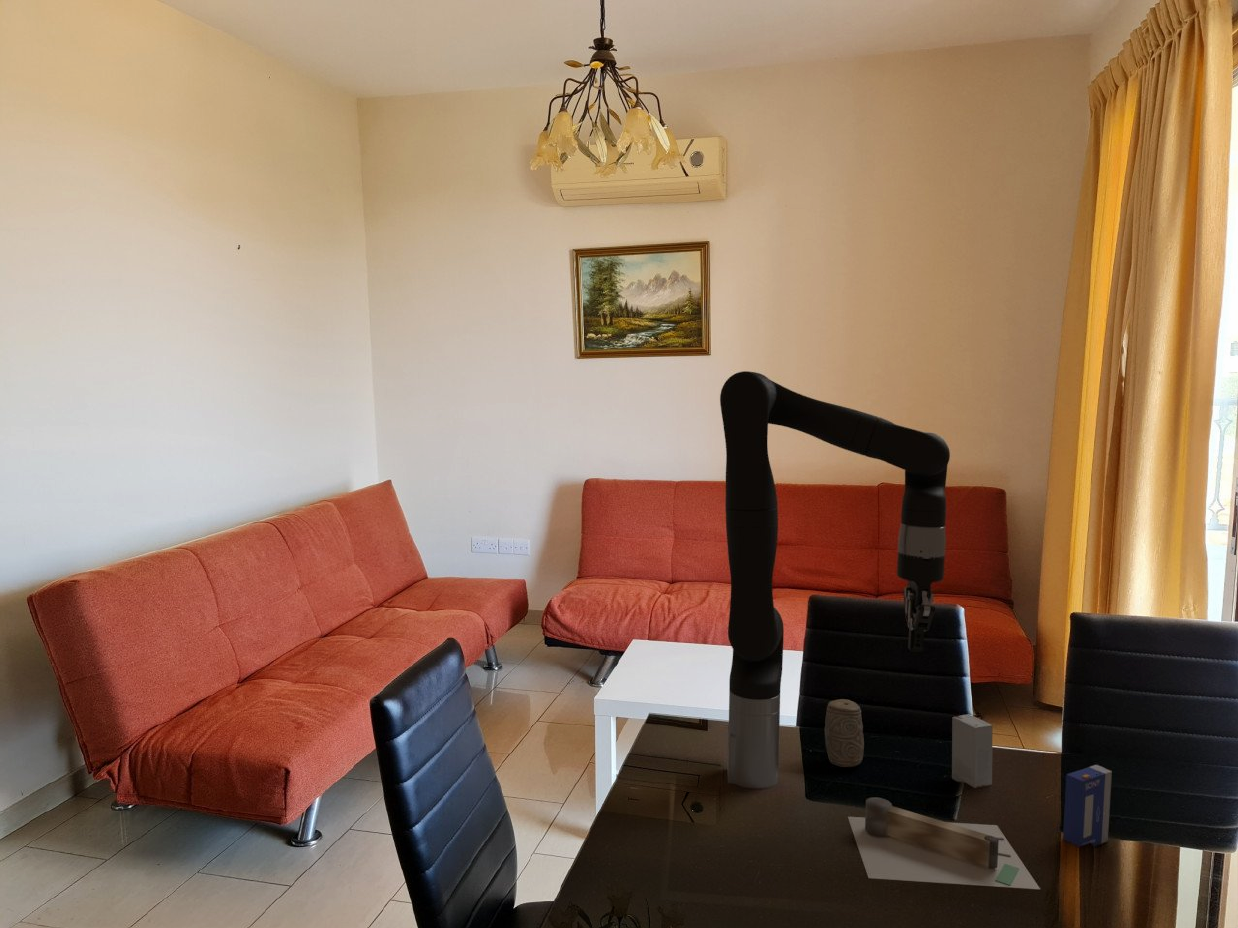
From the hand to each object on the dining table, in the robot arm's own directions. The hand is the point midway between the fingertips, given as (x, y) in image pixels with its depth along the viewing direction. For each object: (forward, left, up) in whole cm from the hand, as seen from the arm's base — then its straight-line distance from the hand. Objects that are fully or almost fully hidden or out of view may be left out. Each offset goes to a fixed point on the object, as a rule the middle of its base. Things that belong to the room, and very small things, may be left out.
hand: (915, 650), depth 143 cm
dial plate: (0, -15, -28) cm, 32 cm away
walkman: (+25, -8, -28) cm, 39 cm away
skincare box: (+13, +11, -28) cm, 33 cm away
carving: (-9, +17, -28) cm, 34 cm away
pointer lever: (-1, -15, -26) cm, 30 cm away
